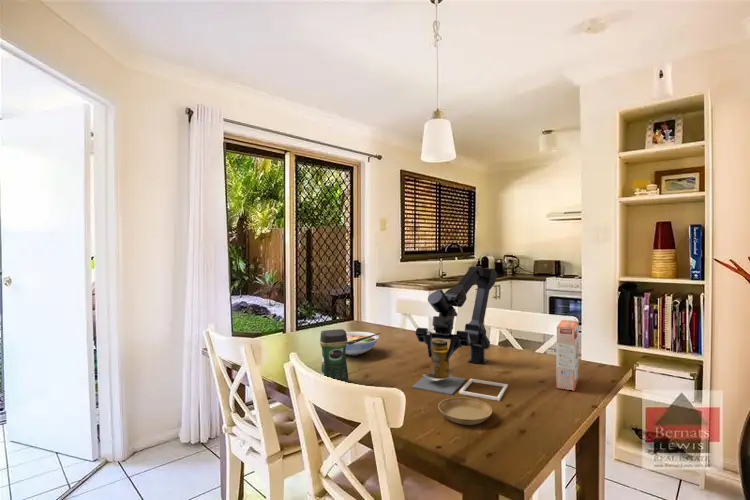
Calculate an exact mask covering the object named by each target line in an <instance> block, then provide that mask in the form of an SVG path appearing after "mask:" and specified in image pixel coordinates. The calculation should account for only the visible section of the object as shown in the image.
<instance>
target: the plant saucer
mask: <svg viewBox="0 0 750 500" xmlns="http://www.w3.org/2000/svg"><path fill="white" fill-rule="evenodd" d="M437 406H438V407H437V408H438V410H439V411H440V413H441V414H442V415H443V416H444V417H445V418H446V419H447V420H448V421H450V422H452V423H455V424H457V425H458V424H459V425H463V426H464V425H465V426H473V425H474V426H475V425H479V424H481V423H484V422H485V421H486V420H487V419H488V418H490V416H492V413H493V408H492V407H491V405H489V403H486V402H485V401H482V400H480V399H475V398H471V397H461V396H460V397H459V396H457V397H451V398H446V399H443V400H441V401H440V402H439V403H438V405H437Z"/></svg>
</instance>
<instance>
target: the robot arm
mask: <svg viewBox="0 0 750 500" xmlns="http://www.w3.org/2000/svg"><path fill="white" fill-rule="evenodd" d="M497 277H498V272H497V271H496V270H495V269H494V268H493V267H492V268H489V267H485V268H484V267H483V266H482V267H481V266H475V265H474V266H473V265H472V266H470V267H468V271H467V272H466V273H465V274H464V276H462V277H461V279H460V280H459V281H458V282H457V284H456V285H455V286H452V287H450V288H448V289H447V290H446V291H445V292H444V291H443V289H442V288H436V291H433V292H431V293H430V294H429V295H428V297H427V302H428V303H429V305H430V306H431V307H432V308H433V310H434V312H436V313H438V315H434V316H433V317H432V324H431V325H432V326H433V328H432V329H433V330H434V331H433V332H432V331H430V330H429V328H427V327H417V328H416V330H415V332H414V333H415V337H416V338H417V340H418V341H419V343H425V345H426V346H427V353H428V358H431V349H432V342H433V341H434V340H433V339H436V340H446V341H447V340H449V341H450V342H449V347H448V353H447V359H449V360H450V358H451V357H452V356H453V354H454V353H455V352H456V351H457V350H458V349H459V348H462V347H470V349H469V351H470V352H469V355H470V356H469V359H468V360H467V363H472V364H480V365H484V364H485V363H486V362H487V361H488V359H487V358H485V355H486V354H485V353H486V349H489V348H490V346H491V341H490V339H489V338H488V336H487V330H486V326H485V325H484V323H485V317H486V312H487V306H488V300H489V295H490V294H489V293H490V290H491V289H492V288H493V287H494V286H495V284H496V281H497ZM474 284H475V285H476V287H477V289H476V295H475V299H474V306H473V309H472V315H471V320H470V321H469V323H465V326H464V330H456V334H453V330H454V322H455V317H458V312H457V311H456V308H455V307H457V308H461V307H463V306H464V304H465V302H466V300H467V293H468V292H469V291H470V290H471V289H472V287H473V286H474Z"/></svg>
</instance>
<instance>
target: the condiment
mask: <svg viewBox="0 0 750 500" xmlns="http://www.w3.org/2000/svg"><path fill="white" fill-rule="evenodd" d="M432 341H433V342H432V349H431V359H430V362H431V368H430V369H431V371H430V372H428V373H423V374H422V376H423V377H424V376H425V377H427V378H429V379H432V380H435V381H438V380H442V379H447V378H450V377H455V376H454V375H453V374H450V361H449V360H450V358H449V359H447V353H448V349H449V347H448V341H447V340H445V339H434V340H432Z"/></svg>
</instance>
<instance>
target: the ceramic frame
mask: <svg viewBox="0 0 750 500" xmlns="http://www.w3.org/2000/svg"><path fill="white" fill-rule="evenodd" d="M472 383H475V384H476V383H478V384H484V385H489V386H494V387H495V386H496V387H501V390H500V392H499V394H498V395H497V396H494V395H487V394H482V393H477V392H471V391H466V390H467V389H468V387H469V386H470V385H471V384H472ZM507 389H508V383H502V382H496V381H495V382H494V381H487V380H482V379H476V378H469V380H468V381H467V382H465V384H464V385H463V386H462V387H461V388H460V389H459V391H458V394H459V395H465V396H470V397H476V398H482V399H487V400H492V401H499V402H500V401H501V399H502V397H503V395H504V394H505V393H506V391H507Z"/></svg>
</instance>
